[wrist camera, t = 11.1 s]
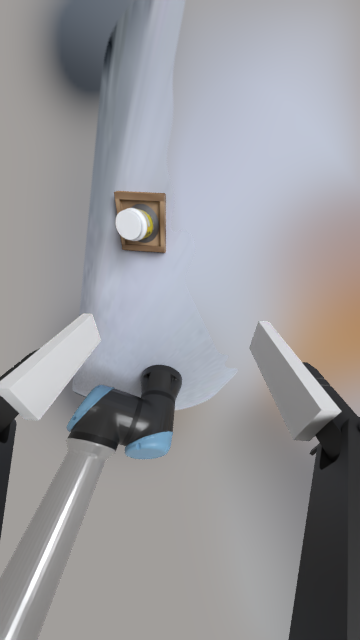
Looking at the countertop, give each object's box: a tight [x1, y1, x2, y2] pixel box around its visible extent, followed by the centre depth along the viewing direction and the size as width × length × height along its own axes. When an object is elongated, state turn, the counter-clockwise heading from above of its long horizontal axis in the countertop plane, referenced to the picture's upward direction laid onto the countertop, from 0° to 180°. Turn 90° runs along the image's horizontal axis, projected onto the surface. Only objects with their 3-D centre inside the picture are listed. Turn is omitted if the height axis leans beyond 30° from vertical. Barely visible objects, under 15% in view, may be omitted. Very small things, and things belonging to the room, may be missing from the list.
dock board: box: [114, 191, 166, 253], centre depth 31 cm, size 10×9×2 cm
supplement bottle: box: [115, 208, 154, 241], centre depth 27 cm, size 5×5×8 cm
